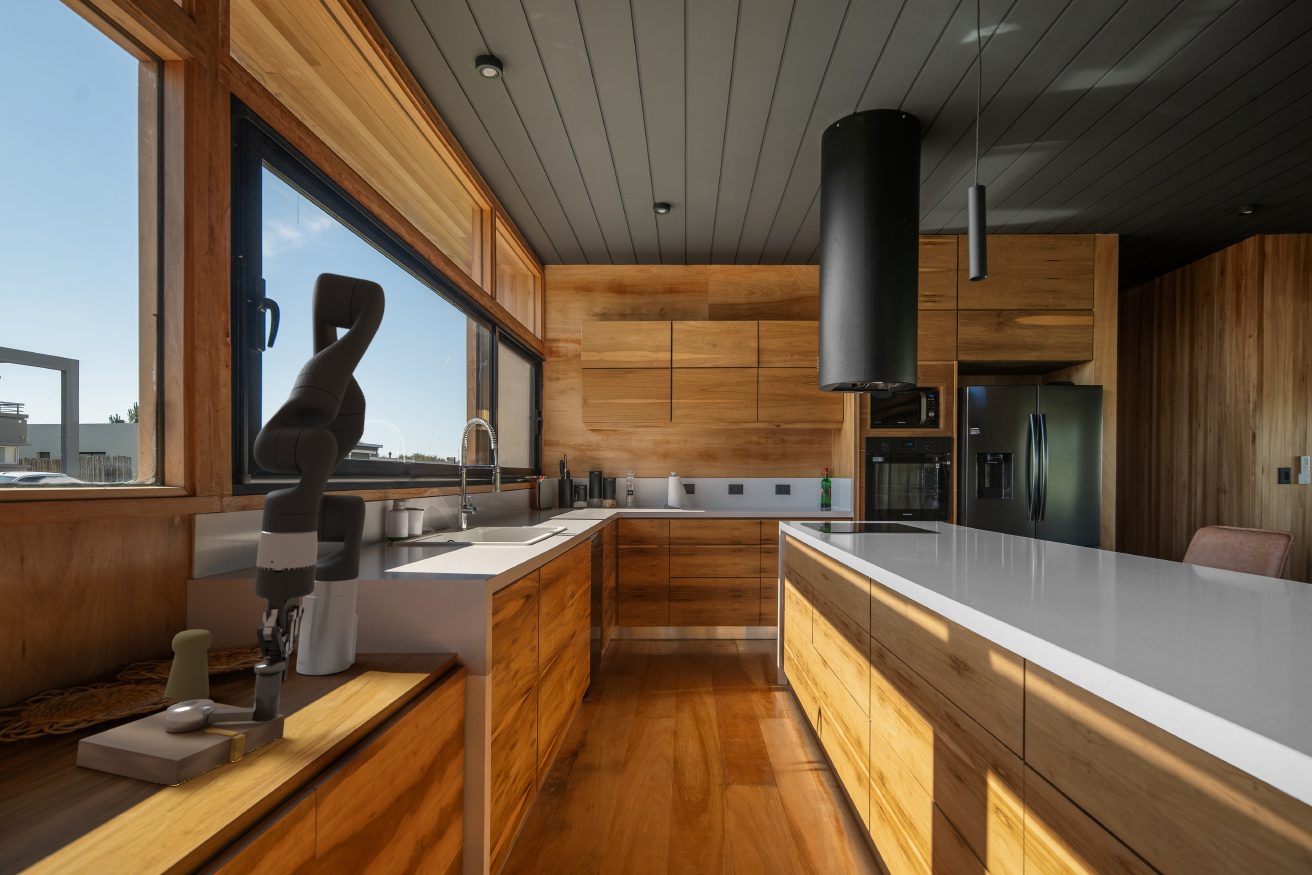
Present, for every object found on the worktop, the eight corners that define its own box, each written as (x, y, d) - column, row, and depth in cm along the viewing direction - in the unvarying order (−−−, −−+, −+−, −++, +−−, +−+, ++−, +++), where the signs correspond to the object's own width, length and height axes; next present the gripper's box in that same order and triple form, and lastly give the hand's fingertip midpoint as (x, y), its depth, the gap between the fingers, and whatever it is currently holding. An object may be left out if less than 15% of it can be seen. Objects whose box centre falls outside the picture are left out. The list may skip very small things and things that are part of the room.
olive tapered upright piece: (183, 708, 93) (191, 636, 93) (151, 704, 94) (159, 632, 95) (218, 695, 98) (225, 628, 99) (188, 691, 100) (196, 624, 101)
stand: (195, 720, 89) (197, 698, 89) (287, 737, 84) (289, 714, 85) (76, 764, 74) (79, 738, 74) (179, 788, 70) (182, 759, 70)
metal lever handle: (156, 732, 77) (163, 671, 77) (177, 717, 81) (183, 660, 82) (272, 727, 80) (278, 668, 80) (285, 713, 85) (291, 658, 85)
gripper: (273, 554, 93) (263, 667, 92) (239, 569, 80) (227, 700, 79) (327, 555, 95) (318, 666, 94) (302, 569, 82) (291, 698, 81)
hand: (276, 681), depth 86 cm, fingers closed
